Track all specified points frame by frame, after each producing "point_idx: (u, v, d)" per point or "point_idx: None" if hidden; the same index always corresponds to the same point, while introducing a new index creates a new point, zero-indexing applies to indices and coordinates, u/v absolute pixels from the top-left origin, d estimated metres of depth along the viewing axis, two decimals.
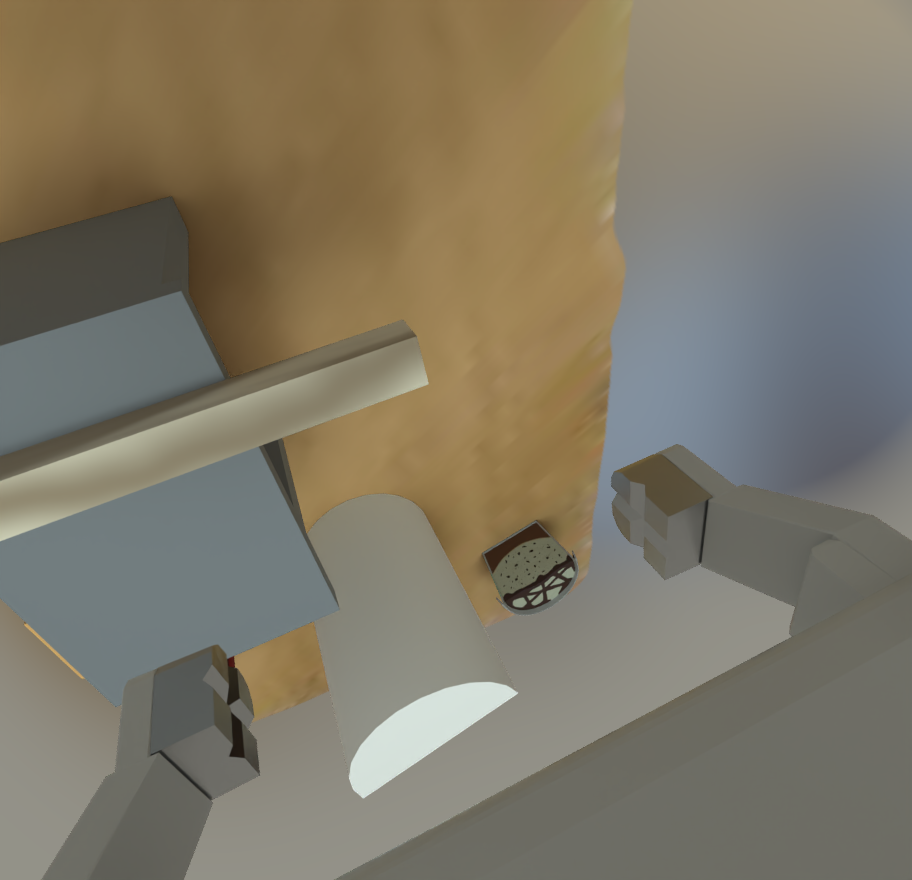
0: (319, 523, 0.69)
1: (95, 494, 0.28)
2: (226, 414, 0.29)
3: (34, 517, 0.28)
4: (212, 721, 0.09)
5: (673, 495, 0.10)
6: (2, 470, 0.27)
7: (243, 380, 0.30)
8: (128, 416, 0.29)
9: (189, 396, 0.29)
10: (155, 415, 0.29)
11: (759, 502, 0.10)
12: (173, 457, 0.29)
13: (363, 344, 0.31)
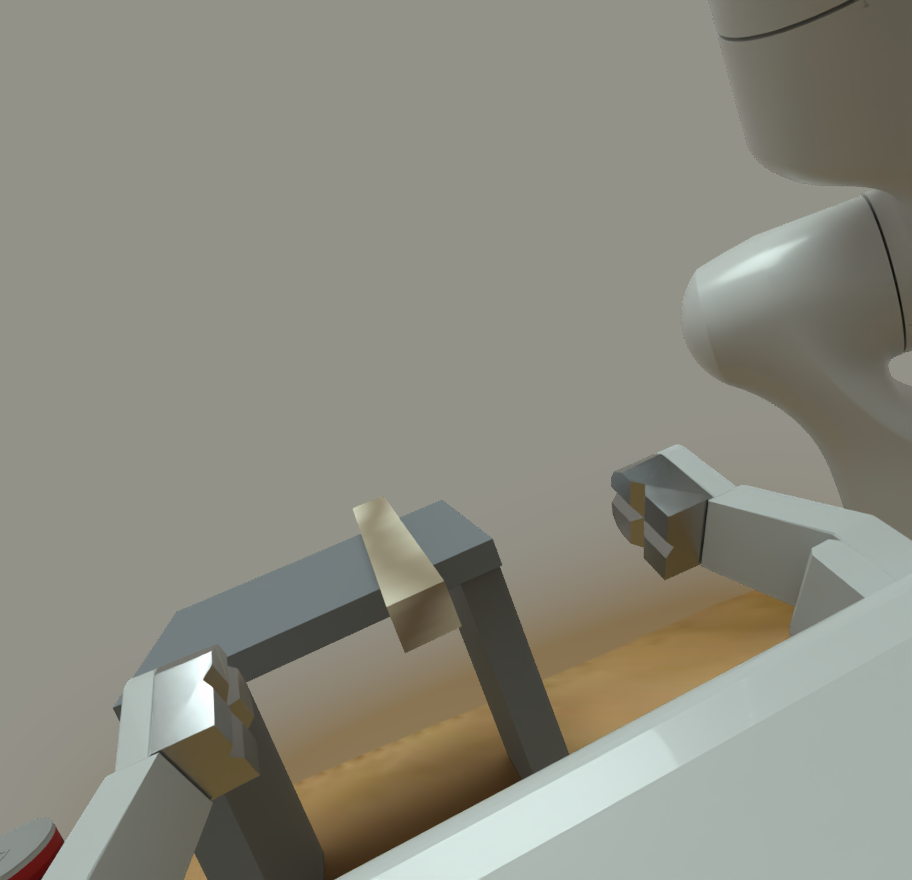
0: None
1: (366, 525, 0.44)
2: (401, 537, 0.38)
3: (363, 517, 0.47)
4: (212, 721, 0.09)
5: (673, 495, 0.10)
6: None
7: None
8: None
9: None
10: None
11: (759, 502, 0.10)
12: (378, 534, 0.41)
13: None
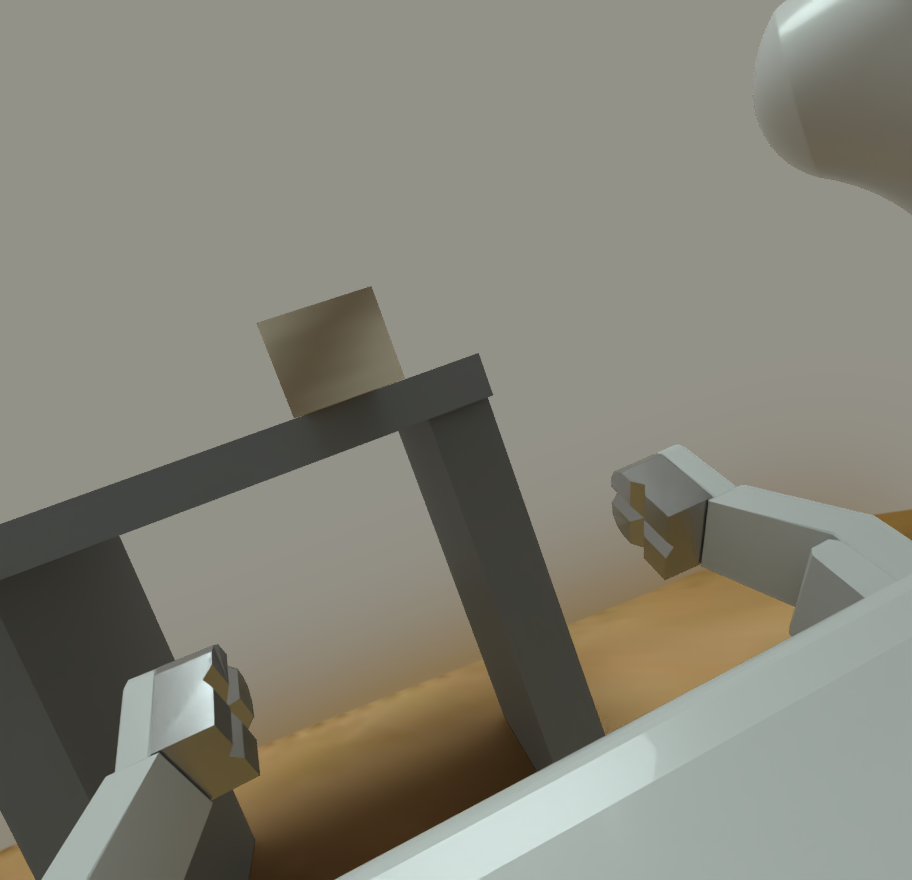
0: None
1: None
2: None
3: None
4: (212, 721, 0.09)
5: (673, 495, 0.10)
6: None
7: None
8: None
9: None
10: None
11: (760, 502, 0.10)
12: None
13: None
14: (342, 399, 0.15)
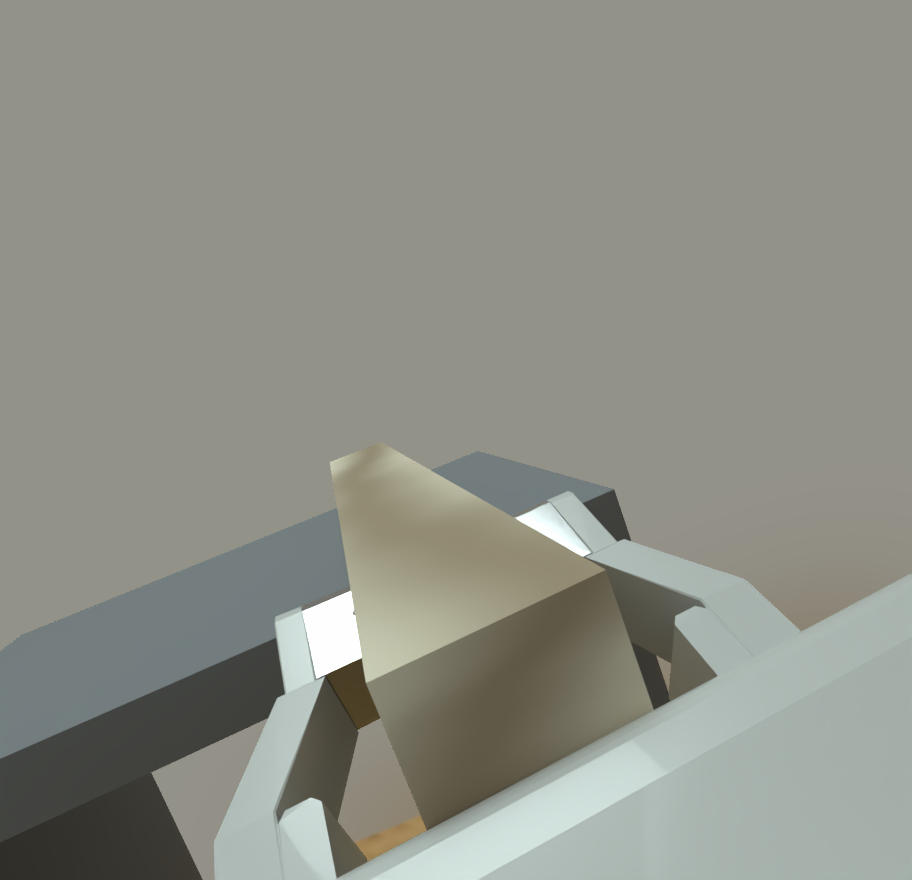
0: None
1: (346, 475, 0.23)
2: (416, 480, 0.17)
3: (343, 468, 0.26)
4: None
5: None
6: None
7: None
8: None
9: None
10: None
11: (635, 559, 0.09)
12: (366, 483, 0.20)
13: None
14: None
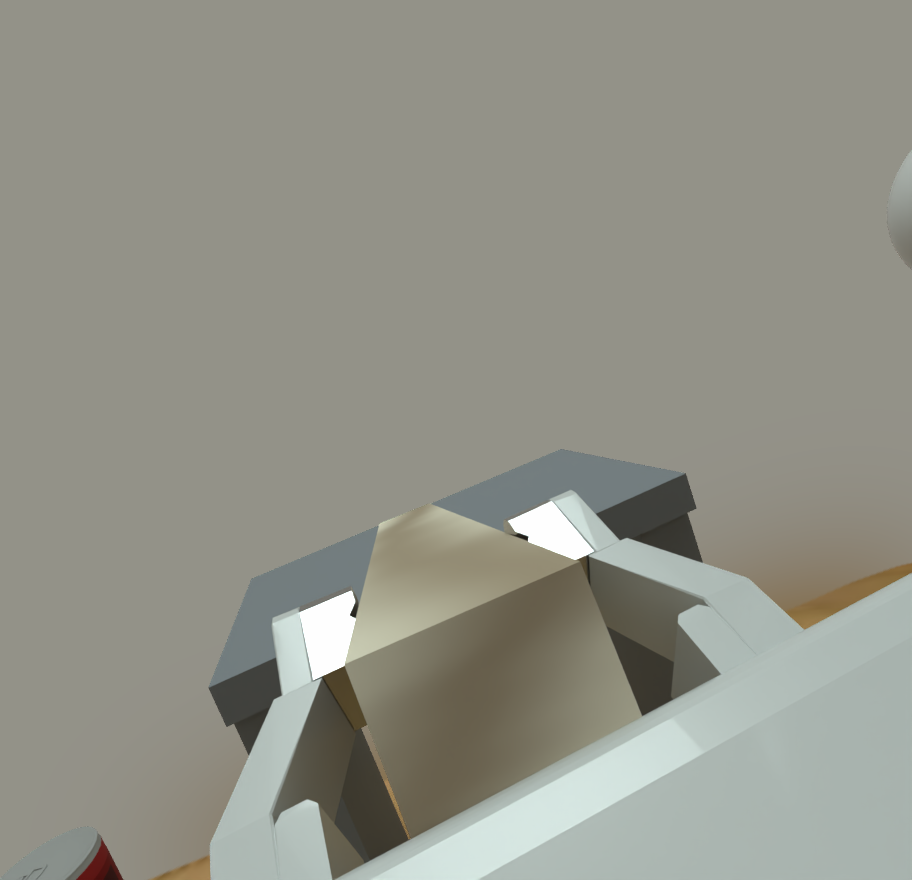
0: None
1: (389, 530, 0.24)
2: (447, 525, 0.17)
3: (389, 526, 0.27)
4: None
5: (554, 549, 0.10)
6: None
7: None
8: None
9: None
10: None
11: (638, 559, 0.09)
12: (403, 533, 0.20)
13: None
14: None
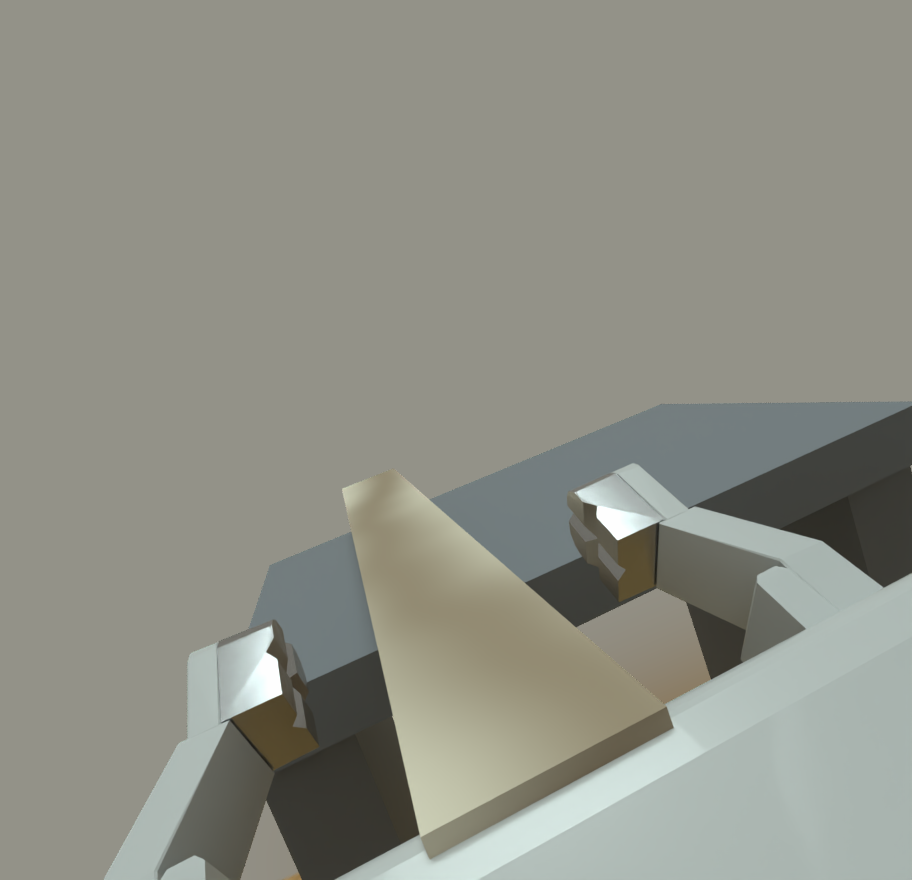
0: None
1: (362, 512, 0.23)
2: (439, 532, 0.16)
3: (358, 501, 0.26)
4: (279, 691, 0.09)
5: (624, 517, 0.10)
6: None
7: None
8: None
9: None
10: None
11: (709, 525, 0.10)
12: (384, 527, 0.19)
13: None
14: None
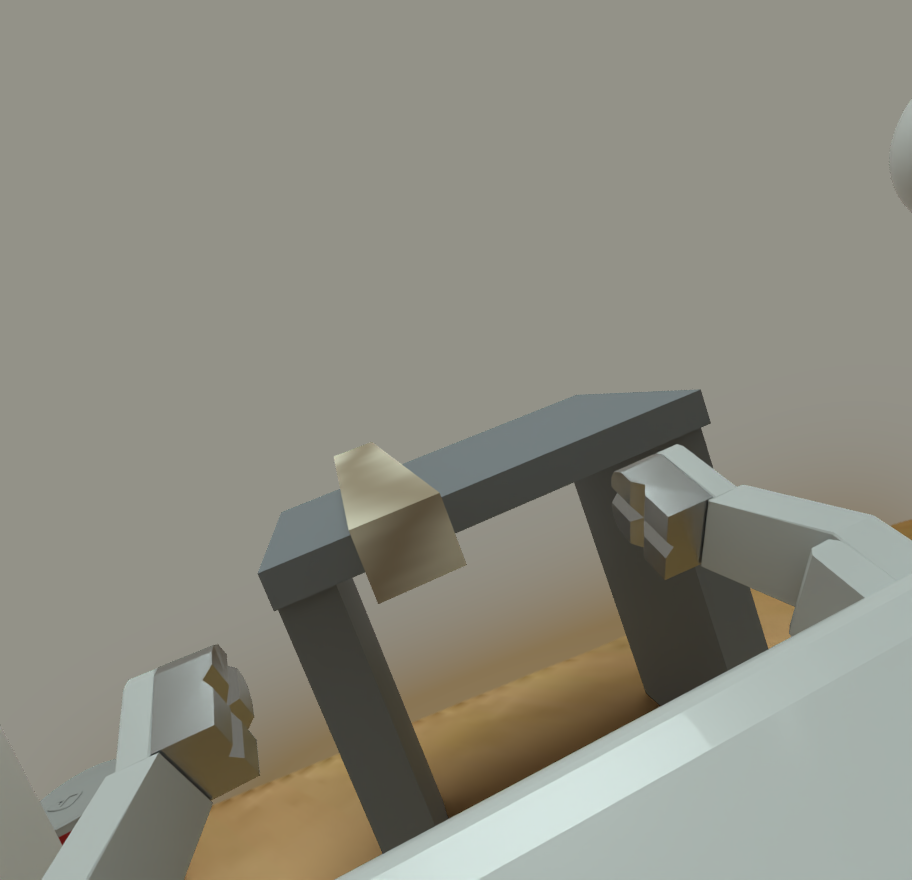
0: None
1: (345, 464, 0.35)
2: (386, 465, 0.28)
3: (343, 460, 0.37)
4: (212, 721, 0.09)
5: (673, 495, 0.10)
6: None
7: None
8: None
9: None
10: None
11: (760, 501, 0.10)
12: (357, 469, 0.31)
13: None
14: (416, 586, 0.18)
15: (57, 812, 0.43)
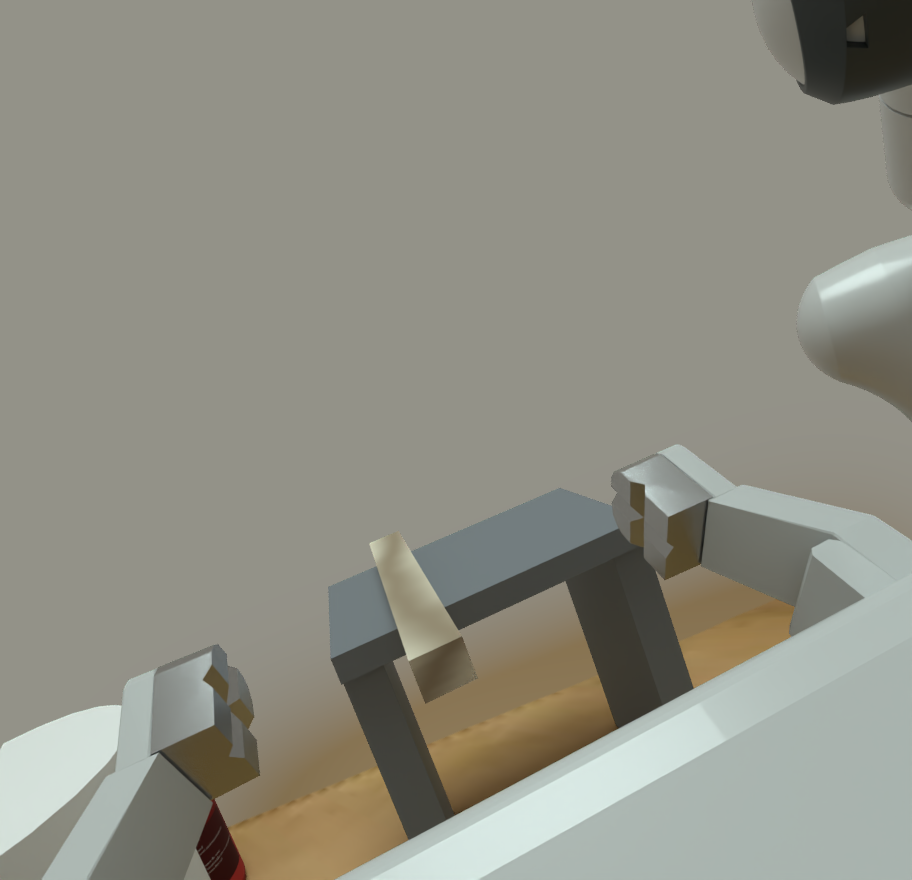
0: None
1: (384, 564, 0.47)
2: (419, 581, 0.40)
3: (380, 555, 0.49)
4: (212, 721, 0.09)
5: (673, 495, 0.10)
6: None
7: None
8: None
9: None
10: None
11: (760, 501, 0.10)
12: (396, 576, 0.43)
13: None
14: None
15: None
